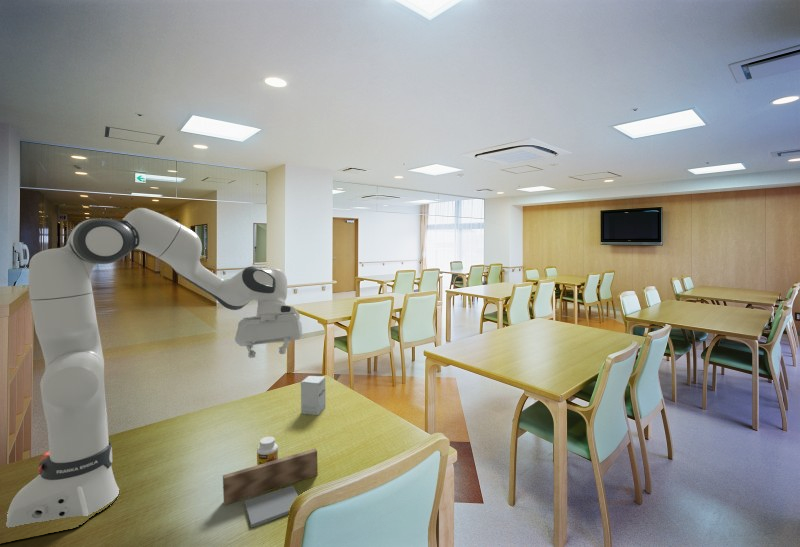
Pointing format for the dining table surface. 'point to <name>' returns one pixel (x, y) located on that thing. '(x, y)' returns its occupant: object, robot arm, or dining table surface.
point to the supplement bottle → (267, 450)
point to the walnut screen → (269, 476)
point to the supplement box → (313, 395)
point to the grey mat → (270, 505)
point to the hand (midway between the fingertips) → (266, 355)
